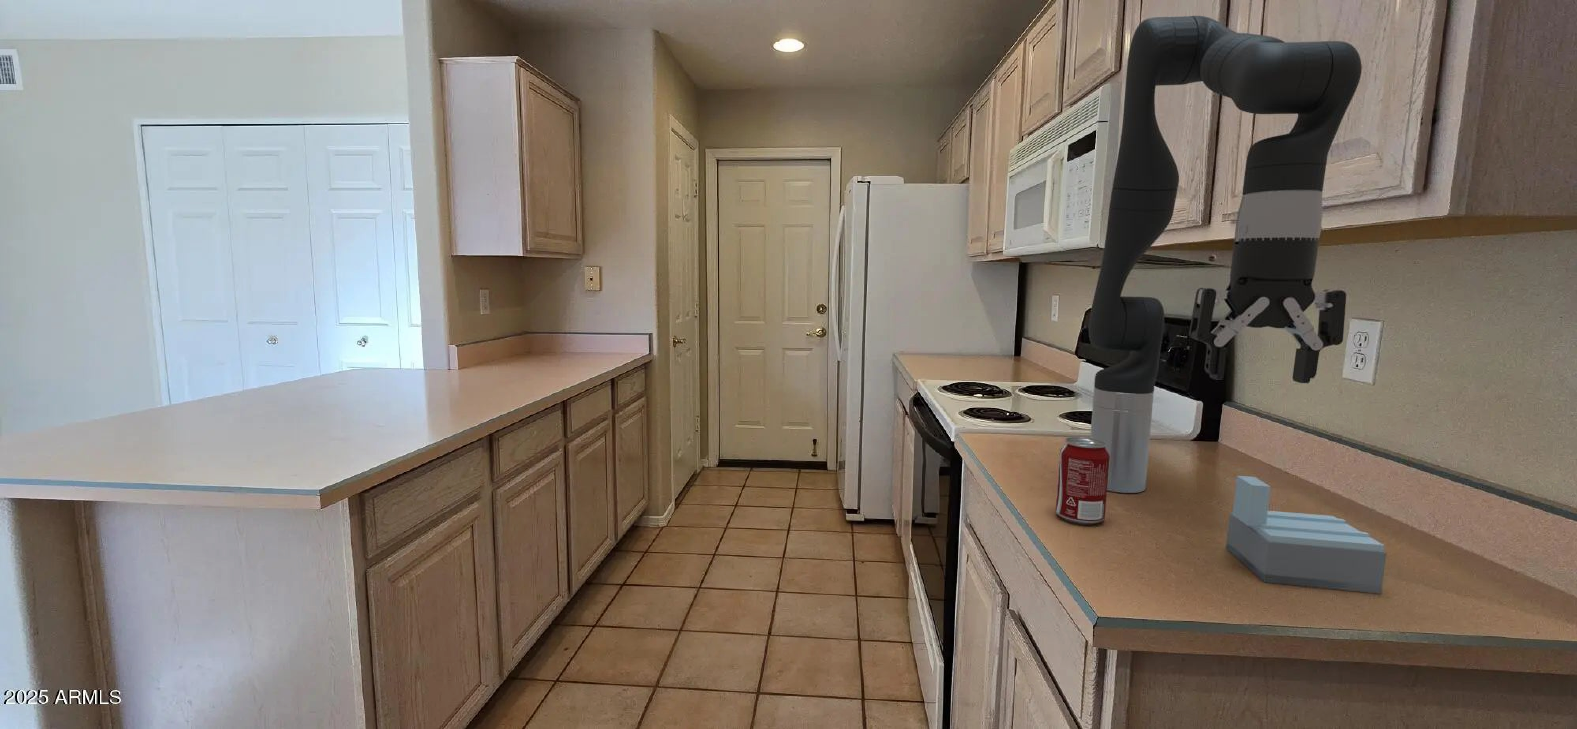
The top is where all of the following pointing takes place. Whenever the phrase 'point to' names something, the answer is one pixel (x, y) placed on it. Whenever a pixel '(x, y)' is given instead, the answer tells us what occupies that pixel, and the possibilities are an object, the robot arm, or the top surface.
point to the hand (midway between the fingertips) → (1257, 380)
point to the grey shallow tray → (1306, 562)
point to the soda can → (1082, 480)
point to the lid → (1294, 521)
